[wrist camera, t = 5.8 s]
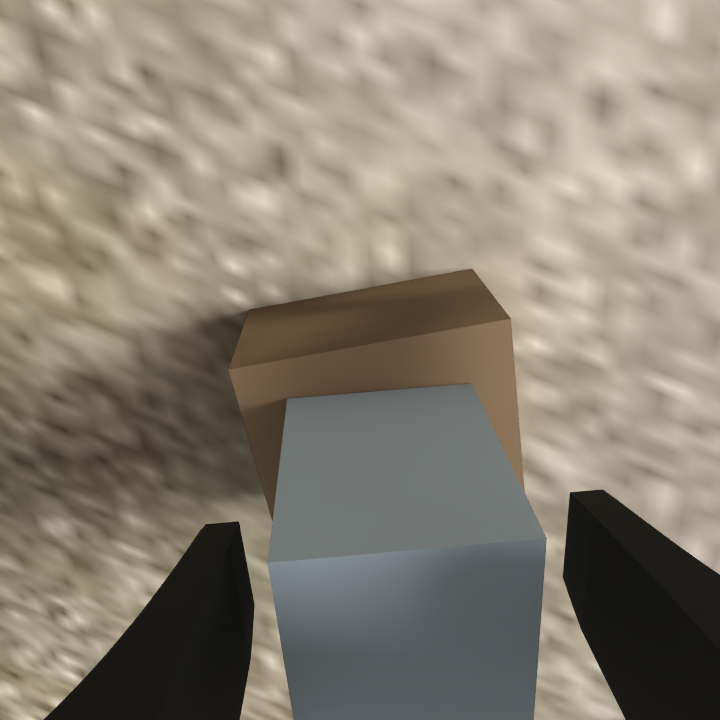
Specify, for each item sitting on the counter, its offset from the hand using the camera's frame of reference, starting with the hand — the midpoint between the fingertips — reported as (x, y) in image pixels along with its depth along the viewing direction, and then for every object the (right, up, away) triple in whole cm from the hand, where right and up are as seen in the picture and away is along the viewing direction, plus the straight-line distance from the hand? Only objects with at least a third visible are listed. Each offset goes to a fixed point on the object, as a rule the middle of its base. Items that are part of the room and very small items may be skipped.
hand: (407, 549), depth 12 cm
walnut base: (0, +3, +6) cm, 7 cm away
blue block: (0, +1, +3) cm, 3 cm away
